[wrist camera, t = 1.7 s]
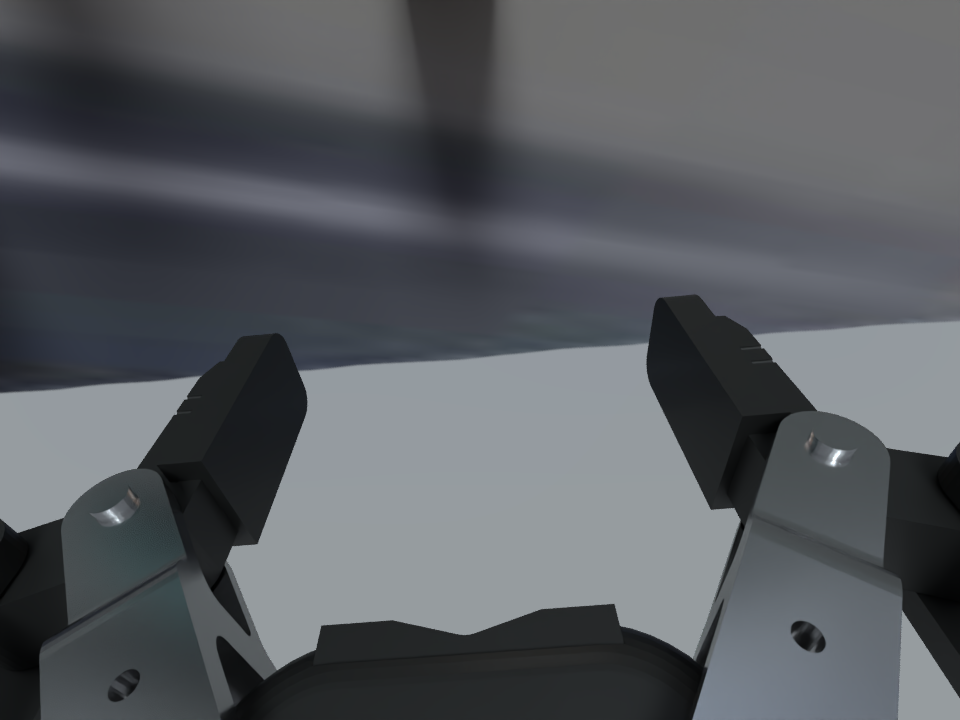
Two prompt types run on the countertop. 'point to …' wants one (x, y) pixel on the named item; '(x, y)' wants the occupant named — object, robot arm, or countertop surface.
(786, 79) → the countertop surface
